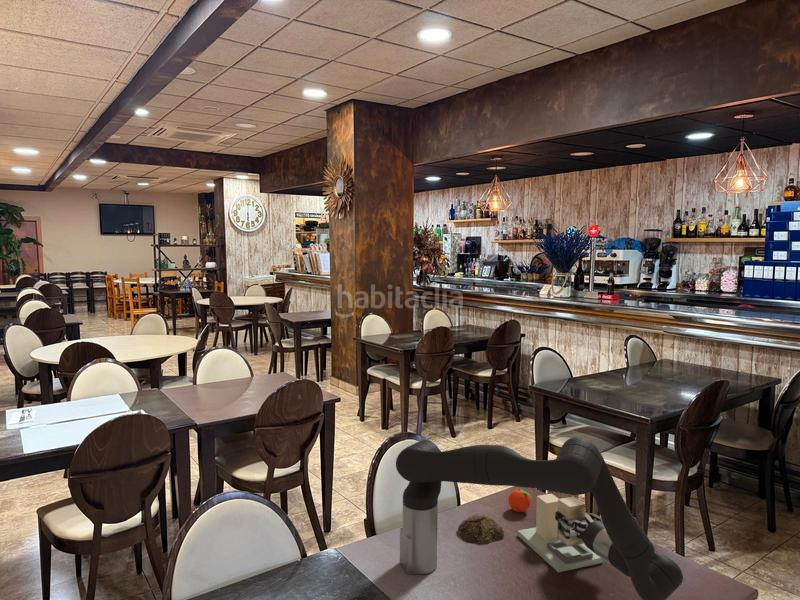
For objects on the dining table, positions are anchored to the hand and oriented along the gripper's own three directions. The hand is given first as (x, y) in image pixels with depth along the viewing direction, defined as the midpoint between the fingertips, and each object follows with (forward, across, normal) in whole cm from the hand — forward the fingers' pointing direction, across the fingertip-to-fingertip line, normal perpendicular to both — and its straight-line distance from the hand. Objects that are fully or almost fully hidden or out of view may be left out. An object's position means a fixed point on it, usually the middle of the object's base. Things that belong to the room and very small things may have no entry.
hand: (565, 513), depth 154 cm
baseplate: (+3, 0, +12) cm, 12 cm away
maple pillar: (-3, 0, +6) cm, 7 cm away
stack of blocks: (+20, -14, +12) cm, 27 cm away
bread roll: (+18, +17, +12) cm, 27 cm away
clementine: (+26, -2, +12) cm, 28 cm away
